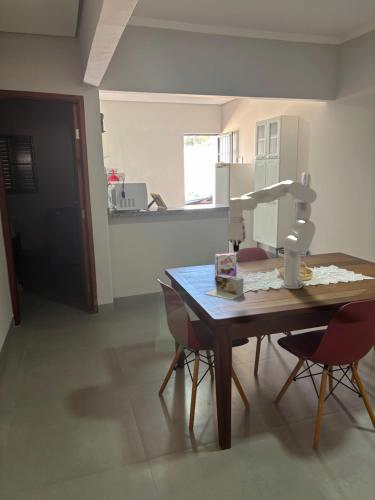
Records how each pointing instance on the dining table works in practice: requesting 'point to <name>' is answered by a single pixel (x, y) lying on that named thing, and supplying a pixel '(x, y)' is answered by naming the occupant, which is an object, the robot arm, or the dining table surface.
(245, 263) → the dining table surface
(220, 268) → the candy box
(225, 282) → the coffee box
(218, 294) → the mat
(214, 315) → the dining table surface
